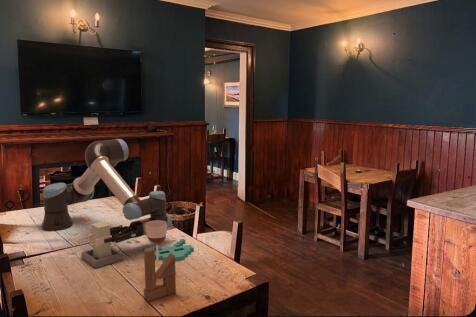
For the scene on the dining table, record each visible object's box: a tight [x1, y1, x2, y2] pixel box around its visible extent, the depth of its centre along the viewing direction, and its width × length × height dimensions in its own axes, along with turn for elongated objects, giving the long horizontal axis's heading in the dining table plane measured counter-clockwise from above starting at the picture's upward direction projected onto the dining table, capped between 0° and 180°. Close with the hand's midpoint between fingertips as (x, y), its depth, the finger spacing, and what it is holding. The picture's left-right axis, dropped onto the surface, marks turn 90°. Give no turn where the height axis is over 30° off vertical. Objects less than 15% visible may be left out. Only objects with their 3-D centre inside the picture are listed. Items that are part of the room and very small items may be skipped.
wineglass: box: [146, 220, 168, 273], centre depth 155 cm, size 8×9×20 cm
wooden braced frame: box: [143, 248, 177, 302], centre depth 136 cm, size 4×11×18 cm, turn 126°
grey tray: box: [80, 246, 124, 270], centre depth 168 cm, size 14×12×3 cm
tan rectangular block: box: [90, 221, 112, 259], centre depth 167 cm, size 7×5×14 cm
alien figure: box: [142, 238, 195, 262], centre depth 175 cm, size 20×2×20 cm
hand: (92, 240), depth 164 cm, fingers closed on tan rectangular block, 7 cm apart
